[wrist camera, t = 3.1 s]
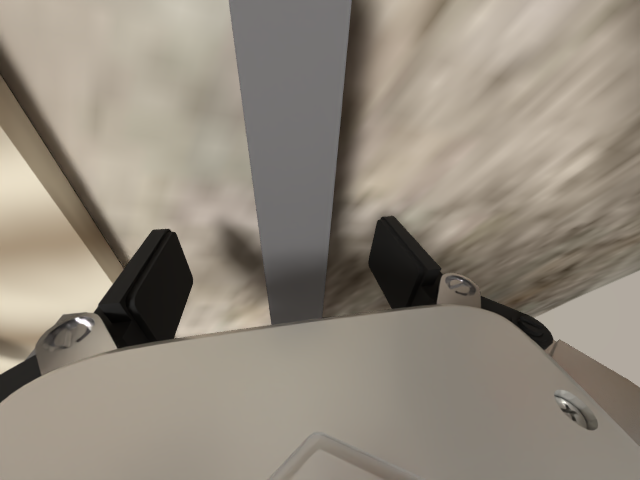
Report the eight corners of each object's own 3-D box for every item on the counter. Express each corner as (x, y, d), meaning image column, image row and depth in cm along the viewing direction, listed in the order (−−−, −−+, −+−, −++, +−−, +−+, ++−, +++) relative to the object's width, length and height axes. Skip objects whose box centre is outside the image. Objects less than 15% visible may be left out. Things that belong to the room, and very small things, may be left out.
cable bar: (232, -87, 7) (201, -206, 4) (327, -71, 8) (367, -167, 4) (275, 311, 19) (276, 359, 16) (311, 307, 20) (318, 353, 16)
